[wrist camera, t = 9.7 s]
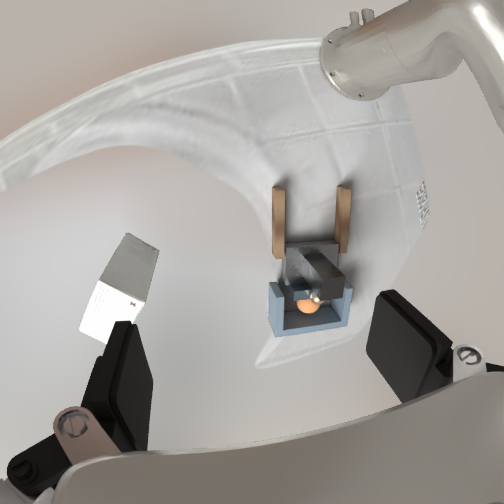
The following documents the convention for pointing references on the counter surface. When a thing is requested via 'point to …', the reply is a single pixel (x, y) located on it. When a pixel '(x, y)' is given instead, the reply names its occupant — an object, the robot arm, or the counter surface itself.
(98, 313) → the skincare box
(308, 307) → the ball
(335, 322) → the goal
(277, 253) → the rail
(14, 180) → the counter surface
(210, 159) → the counter surface
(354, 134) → the counter surface
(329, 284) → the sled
